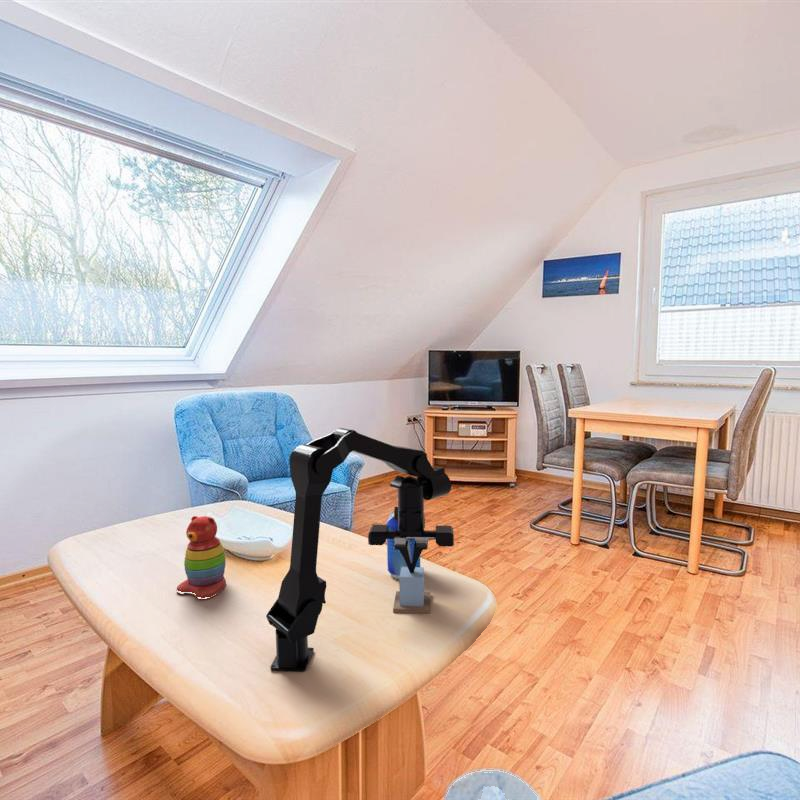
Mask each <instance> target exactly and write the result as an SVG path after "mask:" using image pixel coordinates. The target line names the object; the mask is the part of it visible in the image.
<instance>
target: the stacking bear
mask: <svg viewBox="0 0 800 800" xmlns="http://www.w3.org/2000/svg"><path fill="white" fill-rule="evenodd" d="M185 531H186V532H185V533H186V534H185V535H186V538H187V539H188V540H189V542H188V544H187V547H186V549H185V555H184V563H183V564H184V565H183V566H184V571H185V575H186V580H184V581H183V582H181V583H180V584H178V585H177V587H176V591H177V590H178V591H181V592H192V593H195V594H196V596H197V597H201V598H205V597H211V596H213V595H215V594H217V593H218V594H220V593H221V592H222V591H223V590H224V589H225V587H226V586H227V581H226V578H225V576H224V575H225V570H226V563H227V562H226V553H225V550H224V546H223V544H222V542H221V541H220V539H219V538H218V537H217V536H216V535H217V532H218V524H217V521H216V520H215V518H214V517H211V516H209V515H208V516H206V515H203V516H199V517H198V516H197V515H194V516H192V517H191V521H190V523H189V524H188V526H187V528H186V530H185ZM223 588H224V589H223ZM222 589H223V590H222ZM221 590H222V591H221ZM220 591H221V592H220ZM219 592H220V593H219ZM218 594H217V595H218ZM196 596H195V597H196Z"/></svg>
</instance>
